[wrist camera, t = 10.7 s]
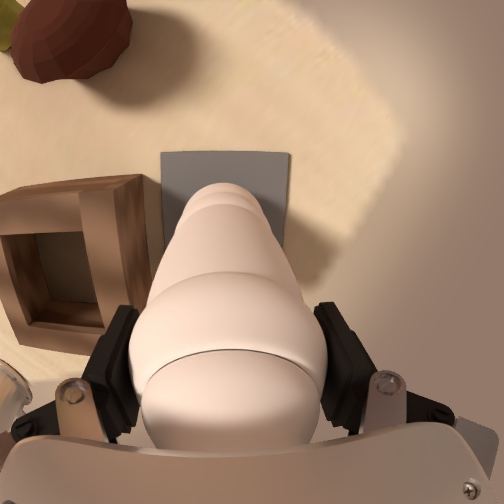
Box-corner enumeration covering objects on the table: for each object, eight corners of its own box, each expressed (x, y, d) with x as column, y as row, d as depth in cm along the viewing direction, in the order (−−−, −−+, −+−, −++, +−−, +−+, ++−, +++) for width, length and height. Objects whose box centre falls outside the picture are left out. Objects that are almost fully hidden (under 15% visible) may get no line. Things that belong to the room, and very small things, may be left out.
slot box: (156, 313, 32) (142, 360, 25) (47, 307, 30) (19, 344, 23) (142, 173, 26) (113, 190, 18) (20, 187, 24) (-24, 206, 17)
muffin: (154, -11, 18) (129, -60, 9) (140, 81, 22) (100, 58, 13) (56, 11, 17) (8, -15, 7) (41, 98, 21) (-18, 95, 12)
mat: (279, 266, 31) (280, 268, 31) (167, 267, 30) (167, 269, 30) (287, 152, 26) (288, 153, 26) (161, 152, 25) (160, 152, 25)
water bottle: (250, 171, 24) (466, 514, 1) (270, 244, 27) (388, 546, 4) (172, 195, 24) (5, 524, 1) (198, 265, 27) (176, 576, 4)
